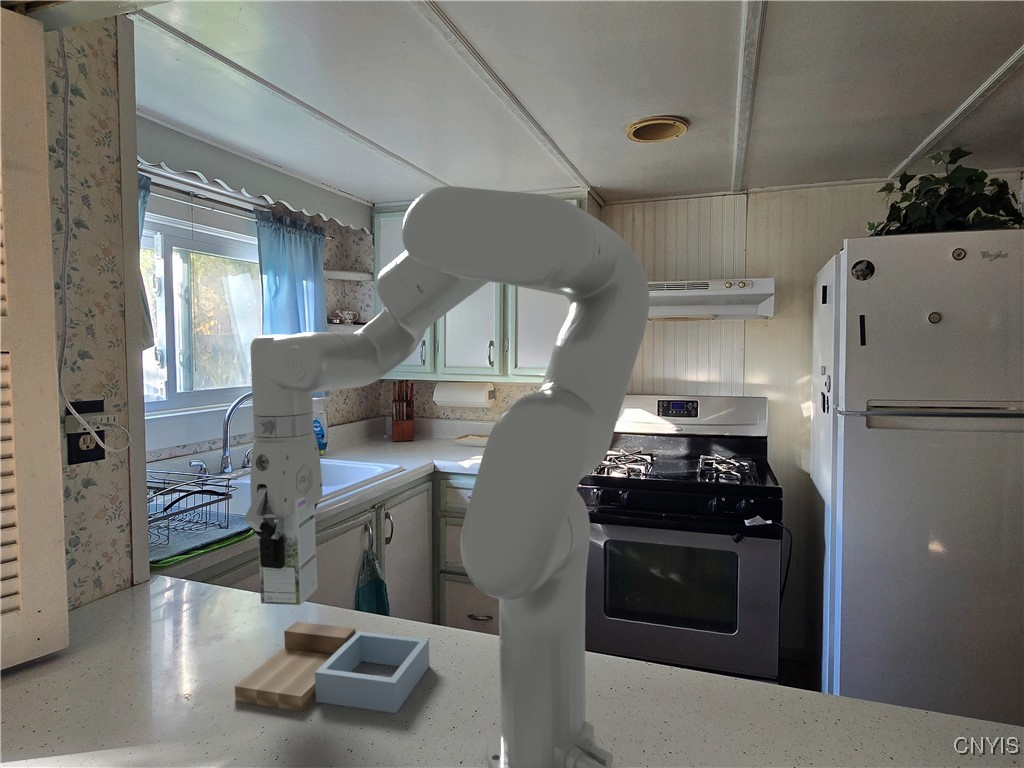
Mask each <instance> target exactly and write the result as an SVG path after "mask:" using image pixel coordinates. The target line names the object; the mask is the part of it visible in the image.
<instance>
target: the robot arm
mask: <svg viewBox="0 0 1024 768" xmlns="http://www.w3.org/2000/svg"><path fill="white" fill-rule="evenodd" d="M401 238H402V243H403V247H404V249H405V250H404V251H403V252H402V253H401V254H399V256H397V257H396V258H395V259H394V260H393V261H392V262H390V263H389V264H387V265H386V266H385V267H384V268H382V270H381V271H380V272H379V273H378V276H377V279H376V282H375V283H376V291H377V292H376V293H377V295H378V297H379V300H380V302H381V304H382V306H383V307H384V308H383V310H382V311H381V312H380V313H379V314H378V315H376V316H375V317H374V318H373V319H372V320H371V321H369V322H368V323H366V324H365V325H364V326H363V327H361V328H360V329H358V330H357V331H354V332H348V331H347V332H346V331H345V332H343V331H342V332H341V331H340V332H339V331H338V332H337V331H336V332H335V331H326V332H323V331H321V332H319V331H315V332H314V331H311V332H302V333H296V334H267V335H266V334H265V335H260V336H259V335H258V336H256V337H255V338H253V340H252V341H251V343H250V372H251V373H250V374H251V394H252V396H251V397H252V398H251V399H252V420H253V421H252V422H253V440H254V441H253V445H252V451H251V452H252V453H251V463H250V464H251V465H250V485H249V486H250V503H251V504H250V506H249V508H248V511H247V512H246V515H245V516H244V522H245V523H246V524H247V525H248V526H249V527H250V528H251V529H252V531H253V532H254V533H255V536H256V538H257V539H258V538H259V539H260V557H261V566H262V567H265V568H277V569H281V568H283V567H284V566H285V557H284V538H283V537H280V534H281V529H282V524H283V519H284V518H283V517H289V516H291V515H293V514H294V500H295V499H297V498H298V497H301V498H303V497H304V498H305V505H306V507H309V506H312V505H314V504H315V510H317V507H318V504H319V502H320V501H321V500H322V498H323V477H322V468H321V467H322V466H321V458H320V456H321V455H320V451H319V450H320V449H319V445H318V441H317V437H316V433H314V432H315V431H314V405H313V404H314V403H313V402H314V401H313V400H314V399H313V393H321V392H322V393H323V392H331V391H335V390H337V391H338V390H347V389H356V388H357V389H358V388H363V387H366V386H369V385H371V384H373V383H375V382H377V381H378V380H380V379H381V378H383V377H385V376H386V375H387V374H389V373H390V372H392V371H393V370H394V369H396V368H397V367H399V365H401V364H403V362H405V361H406V360H407V359H409V358H410V357H411V356H412V354H413V353H414V352H415V351H416V350H417V348H418V346H419V345H420V343H421V342H422V340H423V338H424V337H425V333H426V331H427V330H428V328H429V327H431V326H432V325H433V324H434V323H435V322H438V320H440V319H441V318H442V317H443V316H445V315H446V314H447V313H448V312H450V311H451V310H452V309H454V308H455V307H456V306H458V305H459V304H461V303H462V302H463V301H465V300H467V298H469V297H471V295H474V294H475V293H476V292H477V291H479V290H480V289H481V288H483V287H484V286H485V285H486V284H488V283H497V284H502V285H507V286H514V287H518V288H519V287H520V288H525V289H529V290H534V291H540V292H545V293H550V294H555V295H558V296H565V297H566V298H567V300H568V301H569V311H568V314H567V316H566V318H565V321H564V323H563V324H562V327H561V328H560V330H559V333H558V335H557V337H556V339H555V342H554V345H553V349H552V352H551V357H550V360H549V363H548V367H547V370H546V372H545V375H544V379H543V381H542V382H541V386H540V388H539V390H538V391H537V392H533V393H530V394H527V395H523V396H522V397H520V398H518V399H517V400H515V401H513V402H512V403H511V404H510V405H508V406H507V407H506V408H505V409H504V410H503V411H502V413H501V414H500V415H499V417H498V419H497V420H496V421H495V423H494V425H493V426H492V428H491V431H490V433H489V435H488V438H487V439H486V444H485V448H484V450H483V454H482V456H481V457H482V458H481V460H480V464H479V467H478V471H477V474H476V478H475V481H474V485H473V487H472V491H471V494H470V495H471V496H470V499H469V501H468V505H467V508H466V513H465V516H464V520H463V524H462V528H461V534H460V555H461V559H462V561H461V562H462V564H463V568H464V569H465V572H466V574H467V576H468V578H469V579H470V580H471V582H472V583H473V585H475V587H476V588H477V589H478V590H479V591H481V592H482V593H483V594H485V595H486V596H489V597H491V598H494V599H497V600H498V601H499V602H498V604H499V605H498V606H499V607H498V618H499V619H498V620H499V621H498V625H499V627H498V629H499V630H498V631H499V632H498V633H499V635H498V636H499V685H500V687H499V689H500V691H499V692H500V693H499V696H500V704H499V705H500V726H499V727H498V728H497V729H495V731H494V732H493V733H492V734H491V737H490V738H489V740H488V744H487V748H486V751H487V752H486V755H487V756H486V757H487V765H488V767H489V768H610V767H611V766H612V763H613V760H614V756H613V753H611V752H609V751H607V750H605V749H603V748H600V746H599V743H598V741H597V737H595V735H594V731H595V730H594V727H595V726H594V725H593V724H591V723H589V722H588V721H586V587H587V586H586V584H587V571H588V570H587V569H588V559H589V551H590V541H591V539H590V538H591V522H590V515H589V514H590V513H589V512H588V511H589V510H588V507H587V505H586V503H585V501H584V498H583V497H582V496H581V495H580V493H579V491H578V490H577V489H578V486H579V484H580V481H581V480H583V478H584V477H586V476H587V475H589V474H590V473H592V472H593V471H594V470H596V469H597V468H598V467H599V465H600V464H601V463H602V462H603V461H604V460H605V458H606V456H607V454H608V453H609V450H610V447H611V445H612V440H613V437H614V432H615V429H616V426H617V422H618V419H619V415H620V413H621V410H622V407H623V404H624V401H625V398H626V395H627V392H628V388H629V385H630V383H631V378H632V374H633V370H634V367H635V365H636V364H635V363H636V361H637V357H638V355H639V351H640V349H641V345H642V342H643V339H644V334H645V332H646V328H647V324H648V320H649V314H650V302H651V301H650V298H651V297H650V289H649V283H648V278H647V275H646V271H645V269H644V267H643V264H642V263H641V261H640V259H639V257H638V256H637V254H636V253H635V251H634V250H633V249H632V248H631V247H630V245H629V244H628V243H627V242H626V241H625V239H623V238H622V237H621V236H620V235H619V234H618V233H616V232H615V231H614V230H613V229H611V227H609V226H608V225H606V224H605V223H604V222H602V221H601V220H600V219H598V218H597V217H595V216H594V215H591V214H590V213H588V212H586V211H585V210H583V209H582V208H581V207H579V206H578V205H576V204H574V203H572V202H570V201H567V200H565V199H564V198H561V197H558V196H557V197H556V196H553V195H547V194H541V193H532V192H531V193H530V192H518V191H507V190H497V189H495V190H494V189H486V188H485V189H484V188H475V187H465V186H454V185H453V186H452V185H451V186H449V185H446V186H439V187H436V188H432V189H429V190H427V191H426V192H424V193H422V194H421V195H420V196H418V197H417V198H416V199H415V200H414V201H413V202H412V204H411V205H410V206H409V208H408V209H407V211H406V213H405V216H404V219H403V222H402V228H401ZM266 508H271V509H272V511H273V513H274V514H271V513H266ZM316 514H317V513H315V519H316ZM268 519H274V524H273V527H272V526H271V525H270V524H269V523H268Z"/></svg>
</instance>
